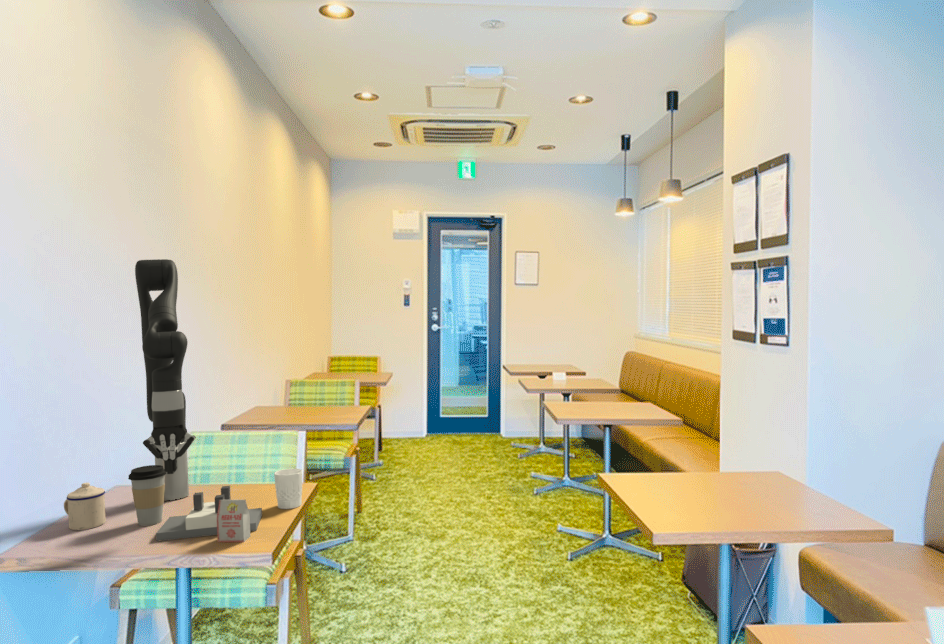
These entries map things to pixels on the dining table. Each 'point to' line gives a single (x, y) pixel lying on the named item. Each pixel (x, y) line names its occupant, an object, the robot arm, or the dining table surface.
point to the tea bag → (233, 521)
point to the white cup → (288, 488)
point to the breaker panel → (180, 527)
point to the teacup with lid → (85, 507)
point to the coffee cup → (148, 493)
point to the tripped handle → (198, 501)
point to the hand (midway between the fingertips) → (171, 473)
